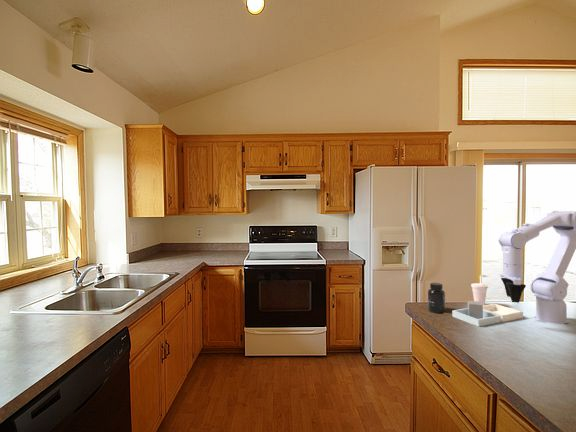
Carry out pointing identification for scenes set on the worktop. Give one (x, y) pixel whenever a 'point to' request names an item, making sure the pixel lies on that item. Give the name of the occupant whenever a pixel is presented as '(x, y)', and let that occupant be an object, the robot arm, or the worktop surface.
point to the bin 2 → (503, 312)
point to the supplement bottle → (436, 298)
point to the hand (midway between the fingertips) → (512, 299)
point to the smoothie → (479, 292)
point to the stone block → (475, 309)
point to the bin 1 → (486, 320)
